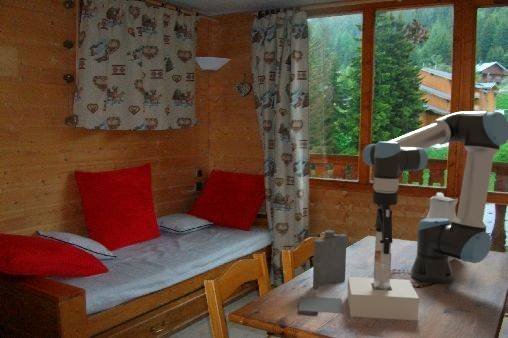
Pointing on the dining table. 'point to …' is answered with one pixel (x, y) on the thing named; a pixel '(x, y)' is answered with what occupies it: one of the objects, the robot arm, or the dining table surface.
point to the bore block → (382, 299)
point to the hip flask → (329, 259)
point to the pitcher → (442, 208)
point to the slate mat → (320, 305)
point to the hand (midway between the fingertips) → (382, 257)
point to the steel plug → (381, 273)
